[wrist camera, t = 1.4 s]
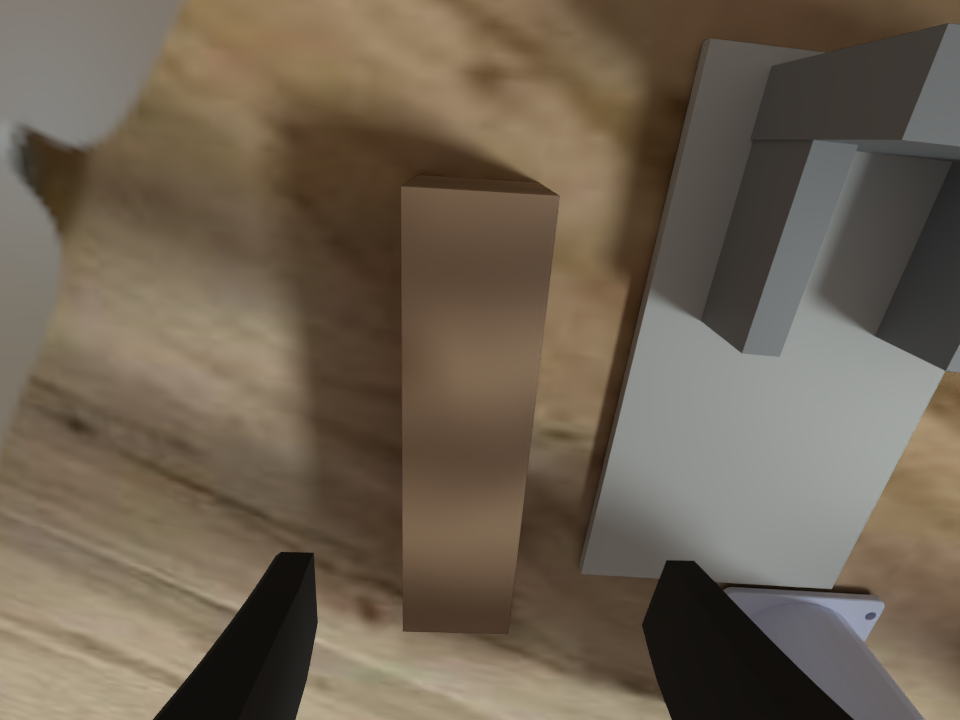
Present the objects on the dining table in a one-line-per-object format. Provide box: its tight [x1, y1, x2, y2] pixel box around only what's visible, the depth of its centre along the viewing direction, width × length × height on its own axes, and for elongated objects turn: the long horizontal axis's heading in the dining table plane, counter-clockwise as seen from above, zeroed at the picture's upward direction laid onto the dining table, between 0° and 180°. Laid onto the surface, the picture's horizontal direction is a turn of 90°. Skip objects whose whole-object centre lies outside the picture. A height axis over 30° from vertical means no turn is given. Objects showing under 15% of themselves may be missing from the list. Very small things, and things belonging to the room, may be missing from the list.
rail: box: [401, 175, 560, 634], centre depth 18 cm, size 16×4×4 cm, turn 177°
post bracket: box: [579, 23, 960, 589], centre depth 17 cm, size 21×12×6 cm, turn 174°
